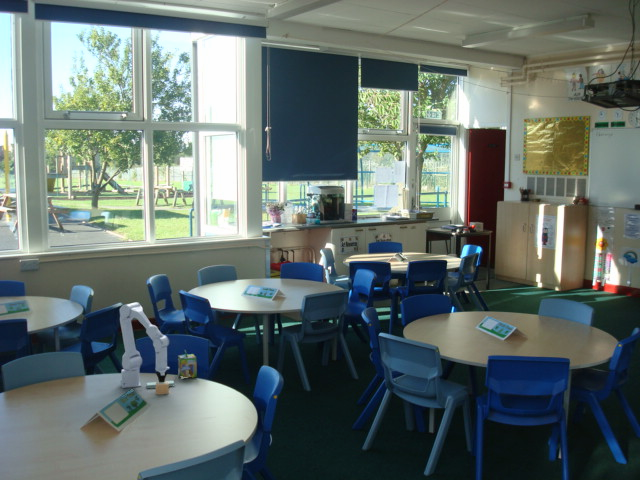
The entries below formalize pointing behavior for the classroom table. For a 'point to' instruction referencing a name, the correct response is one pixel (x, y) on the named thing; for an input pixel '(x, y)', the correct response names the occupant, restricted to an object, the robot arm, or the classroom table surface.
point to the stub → (162, 388)
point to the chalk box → (187, 365)
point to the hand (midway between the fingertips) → (161, 385)
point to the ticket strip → (153, 384)
